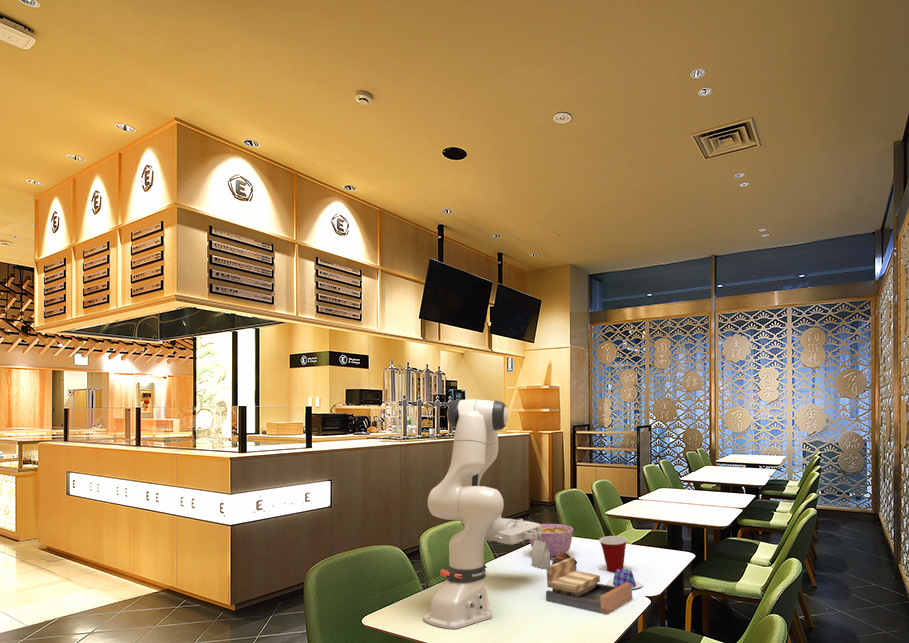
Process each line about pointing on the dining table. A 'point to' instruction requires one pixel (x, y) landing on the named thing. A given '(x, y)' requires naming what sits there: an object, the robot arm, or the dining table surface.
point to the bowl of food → (555, 538)
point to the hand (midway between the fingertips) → (538, 536)
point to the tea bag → (540, 555)
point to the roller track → (595, 598)
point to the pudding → (624, 579)
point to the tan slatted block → (570, 578)
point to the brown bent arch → (562, 558)
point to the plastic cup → (613, 551)
